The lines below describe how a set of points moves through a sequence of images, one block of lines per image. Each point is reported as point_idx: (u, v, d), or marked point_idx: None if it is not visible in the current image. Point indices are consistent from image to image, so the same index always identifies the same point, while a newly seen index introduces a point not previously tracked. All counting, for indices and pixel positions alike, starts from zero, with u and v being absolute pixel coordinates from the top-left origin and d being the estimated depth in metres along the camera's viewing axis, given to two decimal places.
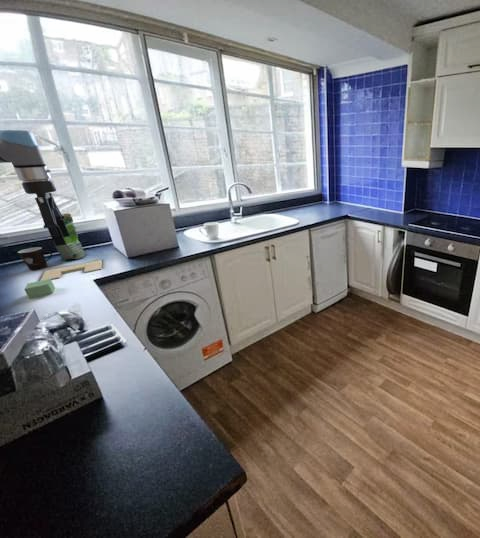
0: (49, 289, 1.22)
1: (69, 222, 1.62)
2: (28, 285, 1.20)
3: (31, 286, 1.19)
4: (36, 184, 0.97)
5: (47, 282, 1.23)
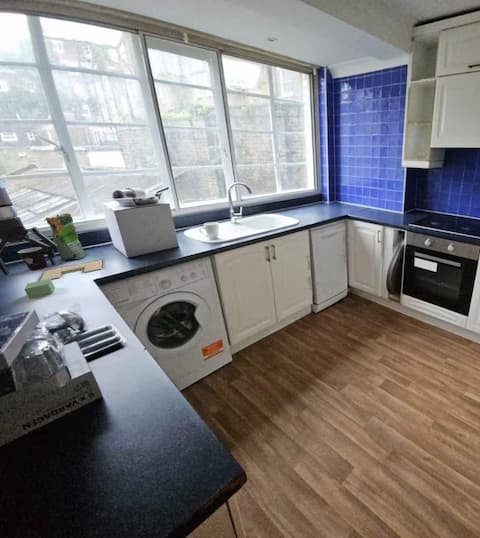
0: (49, 289, 1.22)
1: (69, 222, 1.62)
2: (28, 285, 1.20)
3: (31, 286, 1.19)
4: None
5: (47, 282, 1.23)
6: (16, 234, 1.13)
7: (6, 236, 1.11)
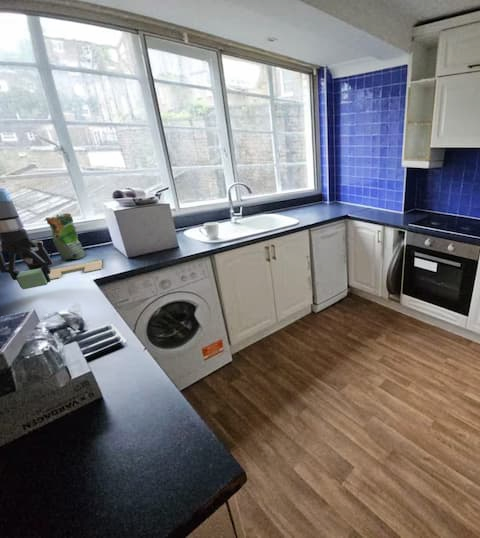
0: (42, 278, 1.20)
1: (69, 222, 1.62)
2: (21, 273, 1.18)
3: (24, 274, 1.17)
4: (25, 230, 1.15)
5: (40, 271, 1.20)
6: (21, 245, 1.14)
7: (11, 247, 1.13)
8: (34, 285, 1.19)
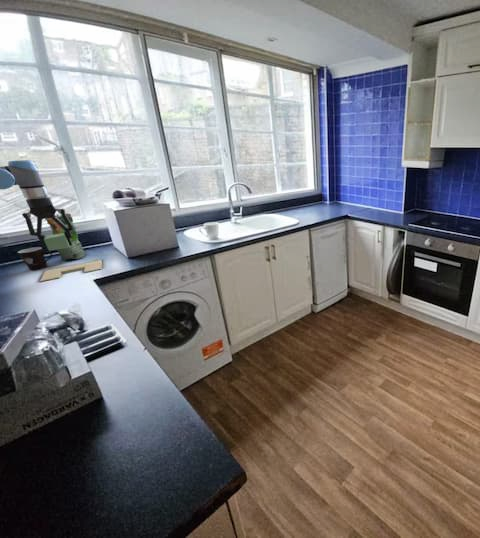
0: (65, 241, 1.36)
1: None
2: (47, 237, 1.35)
3: (49, 237, 1.34)
4: None
5: (63, 235, 1.37)
6: (47, 211, 1.31)
7: (38, 213, 1.29)
8: (58, 247, 1.35)
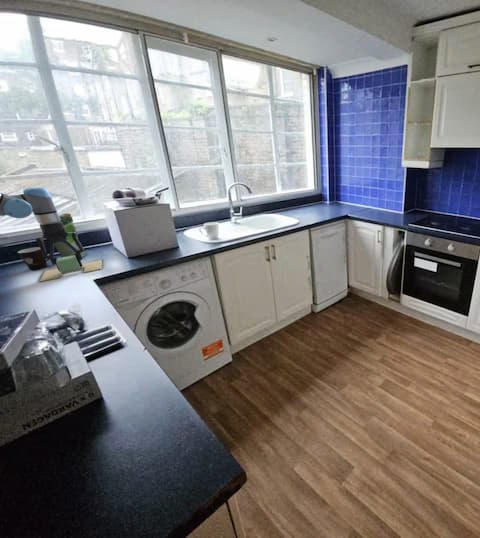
0: (76, 263, 1.42)
1: (69, 222, 1.62)
2: (58, 259, 1.40)
3: (61, 260, 1.39)
4: (62, 223, 1.37)
5: (74, 257, 1.42)
6: (59, 235, 1.36)
7: (51, 237, 1.35)
8: (70, 269, 1.41)
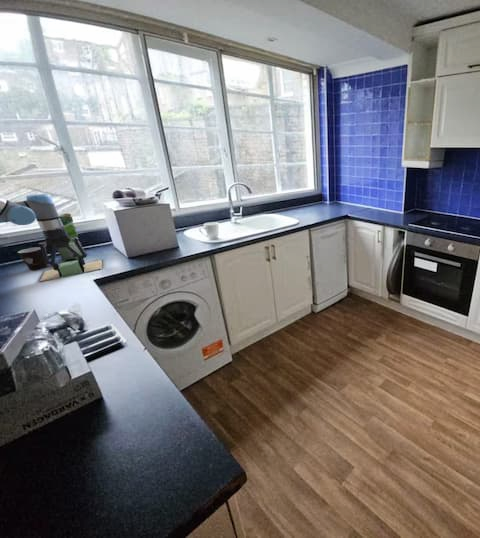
0: (78, 268, 1.43)
1: (69, 222, 1.62)
2: (61, 265, 1.41)
3: (64, 265, 1.40)
4: (64, 228, 1.38)
5: (76, 262, 1.43)
6: (62, 241, 1.37)
7: (54, 243, 1.36)
8: (72, 274, 1.42)
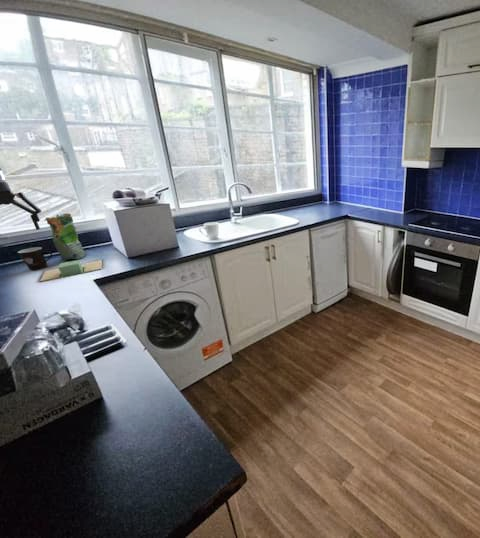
0: (78, 268, 1.43)
1: (69, 222, 1.62)
2: (61, 265, 1.41)
3: (64, 265, 1.40)
4: (7, 183, 1.24)
5: (76, 262, 1.43)
6: (3, 197, 1.23)
7: None
8: (72, 274, 1.42)
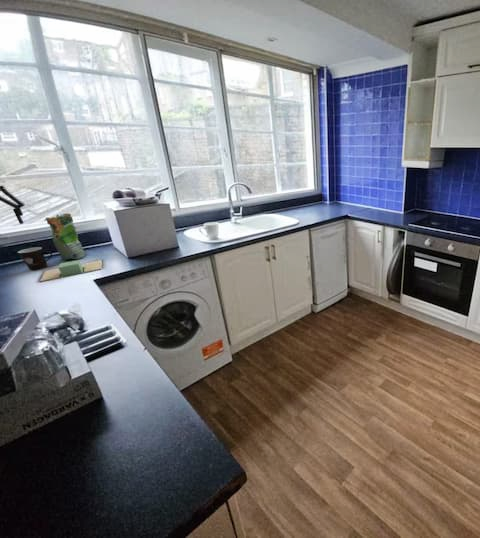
0: (78, 268, 1.43)
1: (69, 222, 1.62)
2: (61, 265, 1.41)
3: (64, 265, 1.40)
4: None
5: (76, 262, 1.43)
6: None
7: None
8: (72, 274, 1.42)
